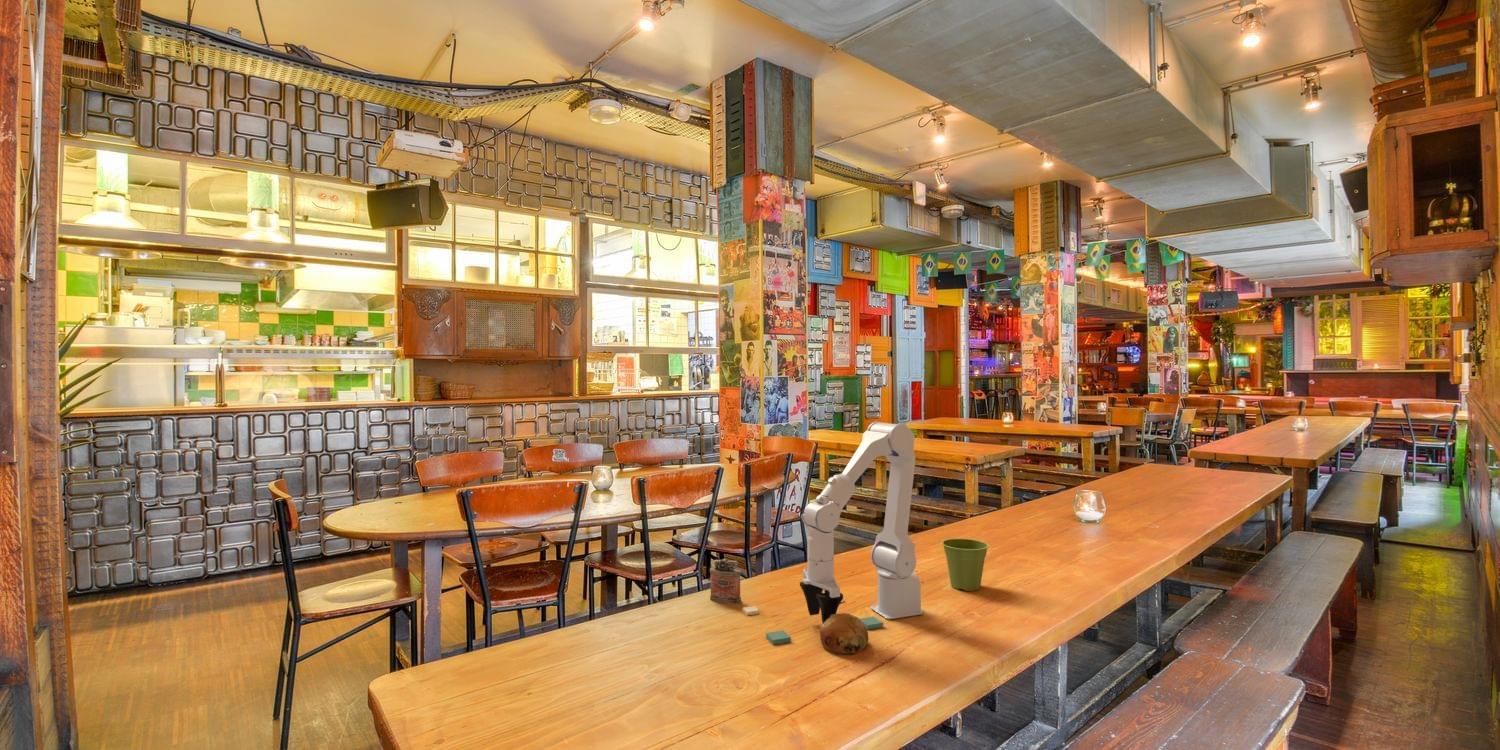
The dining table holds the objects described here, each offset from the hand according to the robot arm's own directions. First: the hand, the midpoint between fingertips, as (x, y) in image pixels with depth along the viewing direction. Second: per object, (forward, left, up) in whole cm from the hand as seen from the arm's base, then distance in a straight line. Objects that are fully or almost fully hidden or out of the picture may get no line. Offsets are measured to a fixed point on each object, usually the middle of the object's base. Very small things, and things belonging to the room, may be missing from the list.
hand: (821, 619), depth 147 cm
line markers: (0, -6, -2) cm, 6 cm away
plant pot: (-47, -12, -2) cm, 49 cm away
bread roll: (-1, +10, -2) cm, 10 cm away
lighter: (+14, -25, -2) cm, 29 cm away
